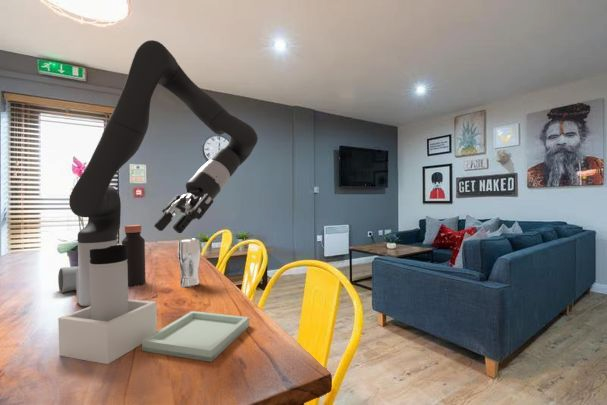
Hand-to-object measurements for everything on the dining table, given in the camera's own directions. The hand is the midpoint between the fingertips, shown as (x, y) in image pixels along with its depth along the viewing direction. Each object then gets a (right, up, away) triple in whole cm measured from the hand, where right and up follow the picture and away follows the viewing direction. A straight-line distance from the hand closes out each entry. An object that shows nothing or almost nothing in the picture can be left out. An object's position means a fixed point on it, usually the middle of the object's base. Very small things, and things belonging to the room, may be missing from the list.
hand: (166, 229), depth 68 cm
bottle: (-26, -22, +33) cm, 47 cm away
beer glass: (-7, -22, +32) cm, 39 cm away
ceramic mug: (-44, -22, +29) cm, 57 cm away
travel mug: (-7, -22, -9) cm, 25 cm away
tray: (+10, -22, -6) cm, 25 cm away
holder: (-7, -22, -9) cm, 25 cm away
